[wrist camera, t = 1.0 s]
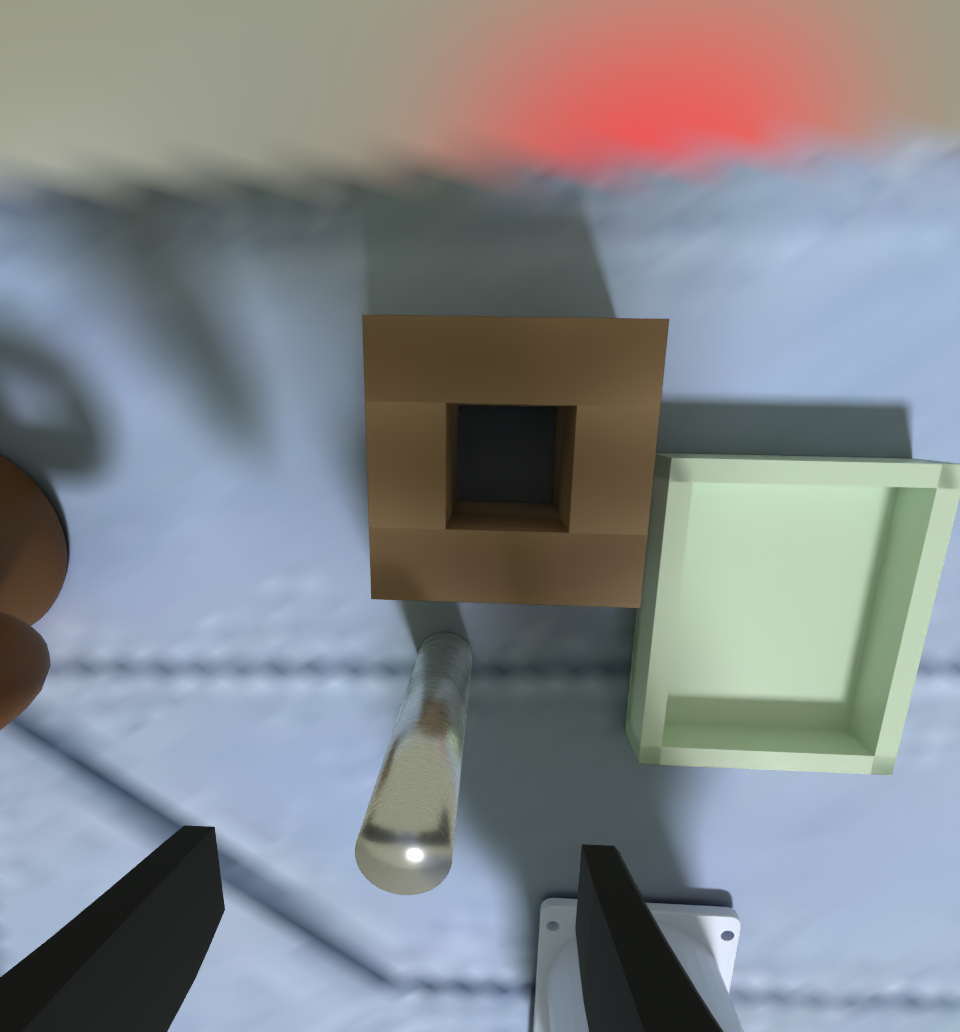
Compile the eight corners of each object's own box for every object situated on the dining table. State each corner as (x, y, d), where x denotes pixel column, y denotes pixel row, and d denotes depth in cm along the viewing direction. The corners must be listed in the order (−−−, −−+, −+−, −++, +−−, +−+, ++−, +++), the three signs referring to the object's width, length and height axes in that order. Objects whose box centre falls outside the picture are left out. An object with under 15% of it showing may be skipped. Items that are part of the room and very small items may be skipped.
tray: (852, 738, 18) (891, 775, 16) (624, 729, 18) (638, 764, 16) (913, 458, 15) (967, 464, 14) (652, 452, 16) (671, 457, 14)
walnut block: (606, 561, 16) (640, 608, 13) (401, 555, 17) (371, 599, 13) (624, 343, 15) (669, 319, 11) (397, 339, 15) (362, 314, 11)
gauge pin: (472, 682, 18) (451, 897, 10) (419, 680, 18) (356, 892, 10) (473, 633, 17) (452, 817, 9) (418, 631, 17) (353, 812, 9)
